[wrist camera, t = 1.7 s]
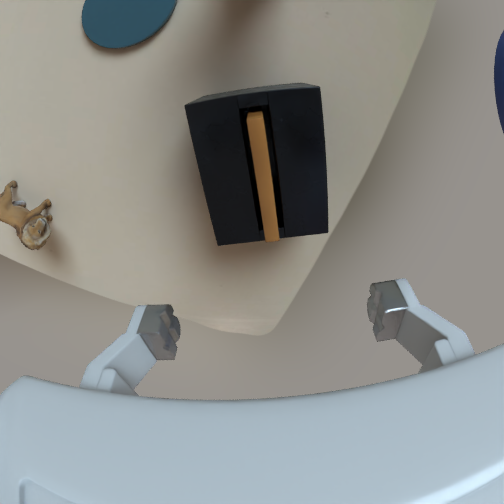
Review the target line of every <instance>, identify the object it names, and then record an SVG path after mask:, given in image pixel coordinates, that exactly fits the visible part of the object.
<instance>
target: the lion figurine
mask: <svg viewBox="0 0 504 504" xmlns="http://www.w3.org/2000/svg"><path fill="white" fill-rule="evenodd" d="M16 186H17V183H16V181H11V182H10V183H9V184H8V185H7V186H6V187H5V190H4V192H3V193H2V194H1V195H0V221H2V222H5V223H7V224H9V225H11V226H12V227H14V228H15V229H16V233H17V236H18V237H19V239H21V242H22V243H23V245H25V247H27V248H29V249H31V250H35V249H37V250H39V249H40V248H41V247H42V246H44V245H45V243H46V241H47V239H48V238H49V236H50V233H51V229H50V227H49V225H48V221H51V220H52V216H51V215H50V214H46V215H45V216H42V215H41V214H40V213H41V212H42V210H44V209H45V208H46V207H50V205H51V202H50V200H49V199H47V200H45V201H43V203H42V204H41V205H40V206H38V207H37V208H35V209H33V210H31V211H29V210H27V209H26V208H24V207H25V205H26V204H25V202H24V201H13V202H12V192H11V187H13V188H15V187H16Z"/></svg>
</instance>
